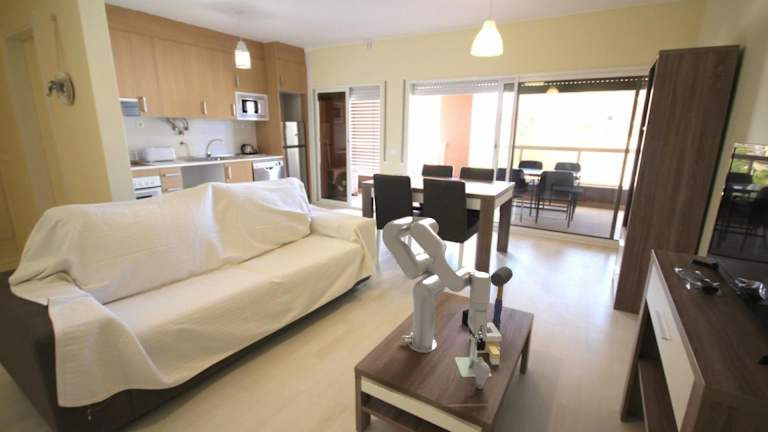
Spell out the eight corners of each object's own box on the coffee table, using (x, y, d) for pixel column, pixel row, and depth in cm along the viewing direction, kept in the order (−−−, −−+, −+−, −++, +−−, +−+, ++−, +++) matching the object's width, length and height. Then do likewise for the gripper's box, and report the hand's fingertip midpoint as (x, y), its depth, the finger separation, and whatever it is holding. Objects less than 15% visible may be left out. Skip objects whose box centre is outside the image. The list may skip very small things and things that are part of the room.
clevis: (483, 365, 146) (485, 347, 144) (469, 339, 164) (471, 322, 162) (507, 365, 146) (509, 347, 144) (490, 338, 165) (492, 322, 163)
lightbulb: (468, 389, 132) (471, 364, 129) (474, 380, 137) (476, 355, 134) (484, 396, 129) (487, 370, 126) (490, 387, 134) (492, 361, 131)
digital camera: (469, 328, 174) (470, 315, 172) (461, 323, 178) (462, 310, 176) (484, 323, 179) (485, 310, 177) (476, 318, 183) (477, 305, 182)
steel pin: (468, 370, 142) (471, 339, 139) (465, 363, 146) (468, 332, 143) (479, 369, 142) (482, 339, 139) (476, 362, 147) (479, 332, 143)
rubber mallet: (498, 333, 170) (505, 275, 163) (483, 327, 175) (489, 270, 168) (508, 322, 179) (514, 267, 172) (493, 317, 184) (499, 263, 177)
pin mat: (462, 377, 138) (462, 376, 138) (454, 358, 150) (454, 357, 150) (491, 377, 139) (492, 376, 139) (481, 358, 151) (482, 357, 151)
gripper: (463, 294, 146) (461, 331, 150) (476, 314, 129) (474, 356, 133) (481, 293, 146) (478, 331, 150) (496, 314, 129) (493, 355, 133)
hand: (476, 342), depth 141 cm, fingers open, 9 cm apart
